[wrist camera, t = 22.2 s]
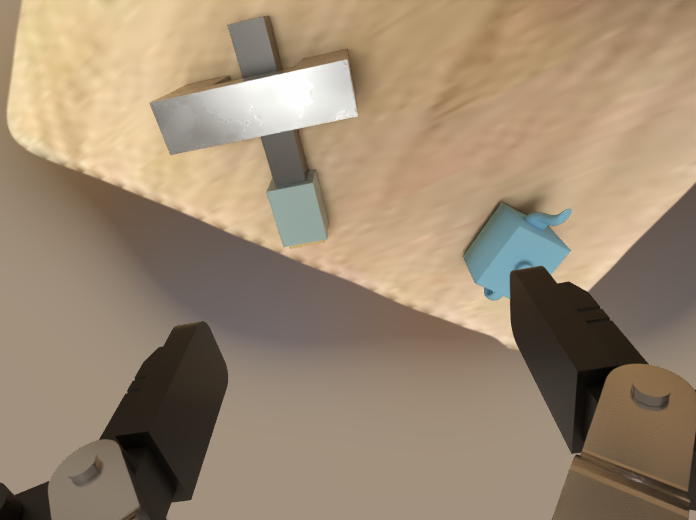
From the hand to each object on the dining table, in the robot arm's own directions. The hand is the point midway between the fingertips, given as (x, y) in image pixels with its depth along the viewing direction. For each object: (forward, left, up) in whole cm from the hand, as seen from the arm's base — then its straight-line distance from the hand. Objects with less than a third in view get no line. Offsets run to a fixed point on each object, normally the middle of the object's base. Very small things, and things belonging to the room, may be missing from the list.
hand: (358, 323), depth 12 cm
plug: (+7, +3, -34) cm, 35 cm away
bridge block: (+7, -2, -34) cm, 35 cm away
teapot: (-14, +17, -34) cm, 41 cm away
